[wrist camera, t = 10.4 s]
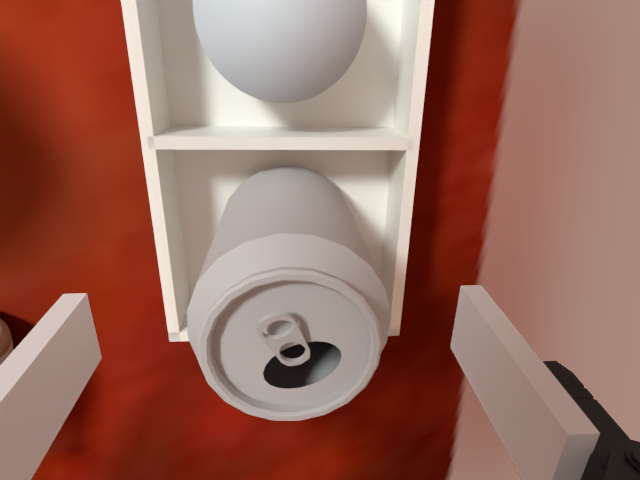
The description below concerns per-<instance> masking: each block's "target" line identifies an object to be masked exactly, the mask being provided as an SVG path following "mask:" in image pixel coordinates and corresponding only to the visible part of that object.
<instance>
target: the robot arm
mask: <svg viewBox="0 0 640 480" xmlns="http://www.w3.org/2000/svg"><path fill="white" fill-rule="evenodd" d="M450 348H451V350H452V351H453V353H454V355H455V357H456V359H457V361H458V363H459V364H460V366H461V368H462V370H463V372H464V374H465V376H466V377H467V379H468V381H469V383H470V385H471V387H472V388H473V390H474V392H475V394H476V396H477V398H478V400H479V401H480V403H481V405H482V407H483V409H484V411H485V413H486V414H487V416H488V418H489V420H490V422H491V424H492V426H493V427H494V429H495V431H496V433H497V435H498V437H499V439H500V440H501V442H502V444H503V446H504V448H505V450H506V452H507V454H508V455H509V457H510V459H511V461H512V463H513V464H514V467H515V468H516V470H517V472H518V474H519V476H520V478H521V480H640V442H637V441H634V440H630V439H629V437H628V436H627V435H626V434H625V433H624V432H623V430H622V429H621V428H620V427H619V426H618V425H617V423H616V422H615V421H614V420H613V419H612V418H611V417H610V415H609V414H608V413H607V412H606V411H605V410H604V408H603V407H602V406H601V405H600V404H599V403H598V402H597V400H594V399H593V396H592V395H591V394H590V392H589V391H588V390H587V389H586V388H584V386H583V384H582V383H581V382H580V381H579V380H578V379H577V377H576V376H575V375H574V374H573V373H572V372H571V371H569V370H568V369H567V368H565V367H564V366H562V365H561V364H559V363H558V362H556V361H544V362H543V361H542V360H541V359H540V358H539V356H538V355H537V354H536V353H535V352H534V350H533V349H532V348H531V346H530V345H529V344H528V343H527V341H526V340H525V339H524V338H523V336H521V334H520V333H519V332H518V331H517V329H516V328H515V327H514V325H513V324H512V323H511V322H510V320H509V319H508V318H507V317H506V315H505V314H504V313H503V312H502V310H501V309H500V308H499V307H498V305H497V304H496V303H495V302H494V300H493V299H492V298H491V297H490V295H489V294H488V293H487V292H486V290H485V289H484V288H483V287H482V285H465V286H461V287H460V293H459V299H458V305H457V310H456V316H455V322H454V328H453V333H452V339H451V345H450ZM101 358H102V357H101V352H100V348H99V344H98V339H97V335H96V331H95V327H94V322H93V318H92V314H91V309H90V305H89V301H88V297H87V293H78V294H63V295H62V296H61V297H60V298H59V299H58V301H57V302H56V303H55V304H54V305H53V306H52V307H51V308H50V310H49V311H48V312H47V313H46V314H45V315H44V316H43V318H42V319H41V320H40V321H39V322H38V323H37V324H36V325H35V327H34V328H33V329H32V330H31V331H30V332H29V333H28V335H27V336H26V337H25V338H24V339H23V340H22V341H21V342H20V344H19V345H18V346H17V347H16V348H15V349H14V350H13V352H12V353H11V354H10V355H9V356H8V357H7V358H6V359H5V361H4V362H3V363H2V364H1V365H0V480H31V479H32V477H33V475H34V474H35V472H36V470H37V468H38V467H39V465H40V463H41V462H42V460H43V458H44V456H45V455H46V453H47V451H48V450H49V448H50V446H51V444H52V443H53V441H54V439H55V437H56V436H57V434H58V432H59V431H60V429H61V427H62V425H63V424H64V422H65V420H66V419H67V417H68V415H69V413H70V412H71V410H72V408H73V407H74V405H75V403H76V401H77V400H78V398H79V396H80V395H81V393H82V391H83V389H84V388H85V386H86V384H87V382H88V381H89V379H90V377H91V376H92V374H93V372H94V370H95V369H96V367H97V365H98V364H99V362H100V360H101Z"/></svg>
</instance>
